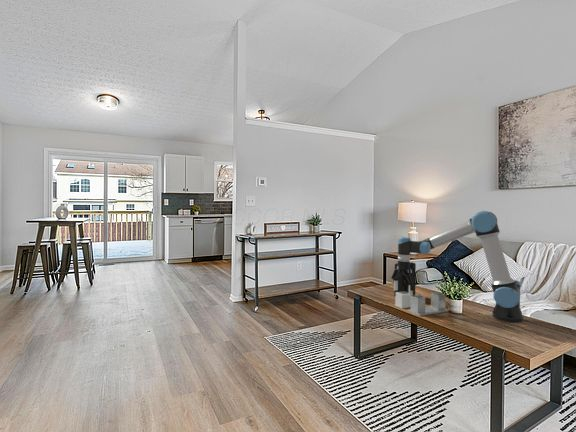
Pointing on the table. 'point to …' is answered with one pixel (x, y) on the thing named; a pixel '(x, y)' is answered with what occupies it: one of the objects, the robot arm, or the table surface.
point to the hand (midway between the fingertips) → (402, 292)
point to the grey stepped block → (420, 309)
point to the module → (402, 299)
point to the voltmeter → (405, 280)
